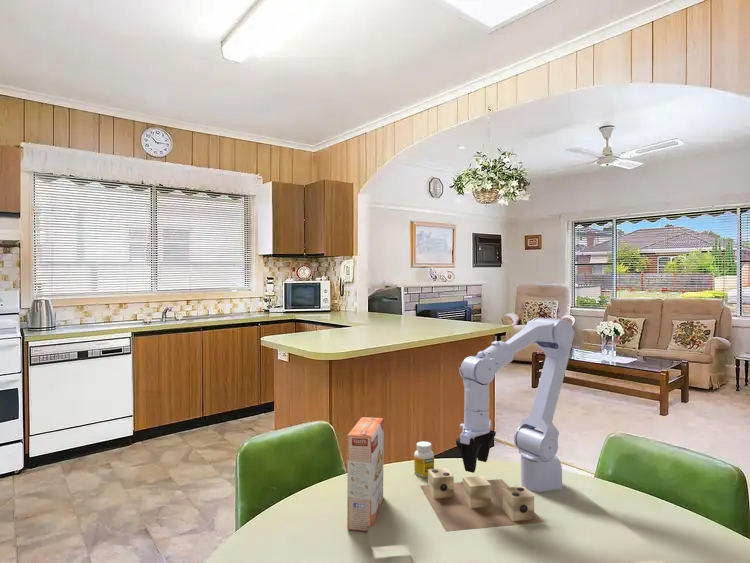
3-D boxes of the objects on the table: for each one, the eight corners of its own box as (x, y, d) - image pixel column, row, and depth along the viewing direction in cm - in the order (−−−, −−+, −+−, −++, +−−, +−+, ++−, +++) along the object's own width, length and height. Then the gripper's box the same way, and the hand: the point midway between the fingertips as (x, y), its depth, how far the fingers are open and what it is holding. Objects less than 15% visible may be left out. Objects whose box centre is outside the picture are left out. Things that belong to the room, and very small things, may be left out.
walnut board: (501, 484, 123) (501, 479, 123) (544, 528, 102) (544, 521, 102) (419, 491, 120) (419, 485, 120) (445, 538, 98) (445, 531, 98)
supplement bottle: (423, 473, 131) (422, 438, 131) (438, 479, 127) (438, 443, 127) (410, 479, 127) (410, 443, 127) (425, 485, 124) (425, 448, 123)
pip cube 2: (523, 508, 108) (523, 485, 108) (534, 519, 103) (534, 495, 103) (503, 509, 107) (502, 487, 107) (512, 521, 102) (512, 497, 102)
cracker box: (373, 533, 100) (372, 436, 100) (346, 531, 102) (345, 434, 101) (385, 502, 114) (384, 416, 114) (361, 500, 115) (360, 415, 115)
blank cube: (483, 496, 114) (482, 475, 114) (491, 506, 109) (491, 484, 109) (463, 498, 113) (462, 477, 113) (470, 508, 108) (470, 486, 108)
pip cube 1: (447, 487, 118) (447, 467, 118) (453, 497, 113) (453, 476, 113) (428, 489, 118) (428, 469, 118) (433, 498, 113) (433, 477, 113)
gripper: (472, 399, 119) (472, 453, 119) (447, 412, 107) (447, 472, 107) (499, 403, 115) (499, 459, 115) (477, 417, 103) (476, 479, 103)
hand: (476, 466), depth 111 cm, fingers open, 7 cm apart
